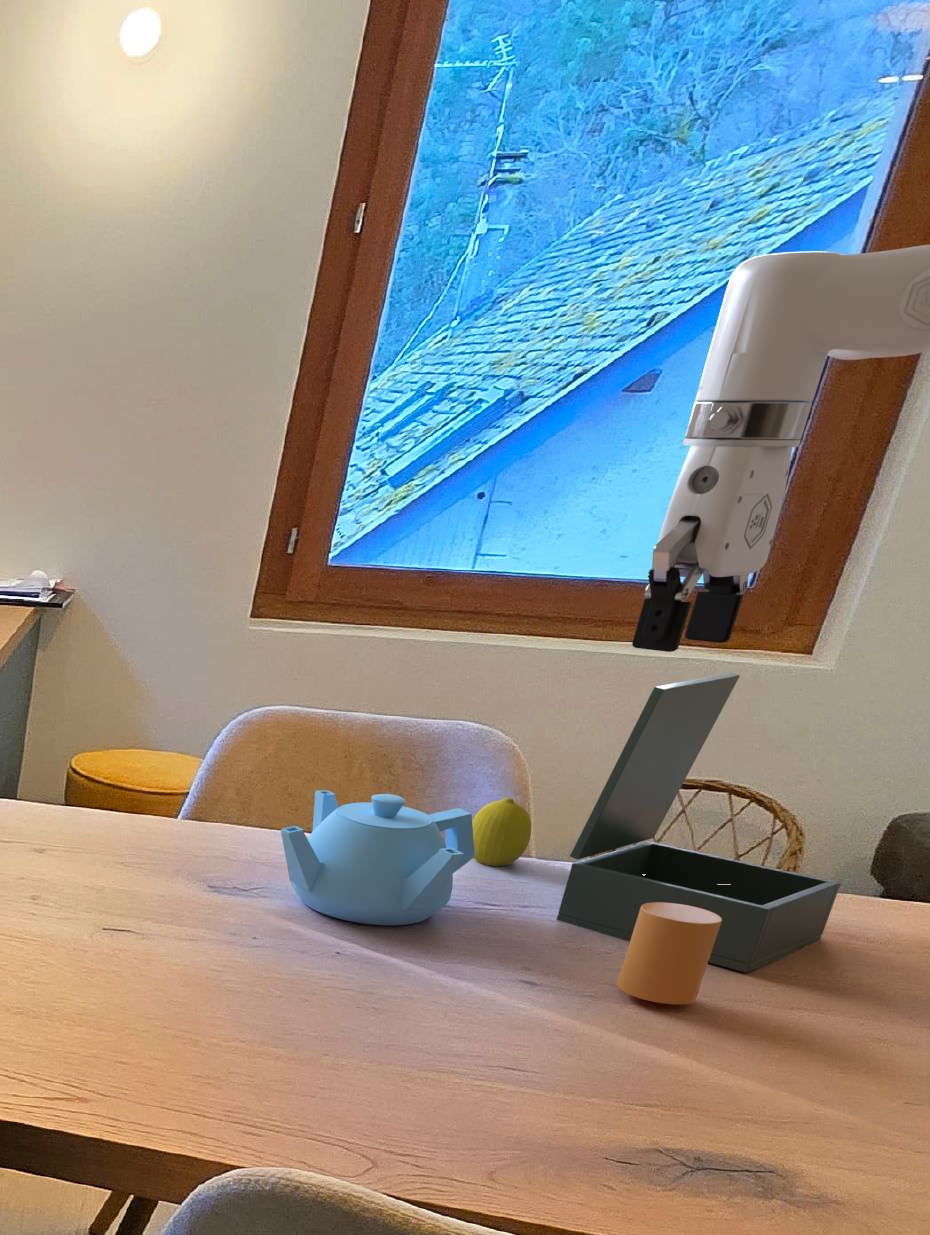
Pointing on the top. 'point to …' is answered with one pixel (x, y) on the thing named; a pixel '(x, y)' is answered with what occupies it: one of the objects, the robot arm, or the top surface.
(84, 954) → the top surface
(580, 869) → the grey hinged box
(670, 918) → the orange cylinder
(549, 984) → the top surface
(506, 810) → the lemon
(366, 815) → the teapot
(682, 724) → the lid
